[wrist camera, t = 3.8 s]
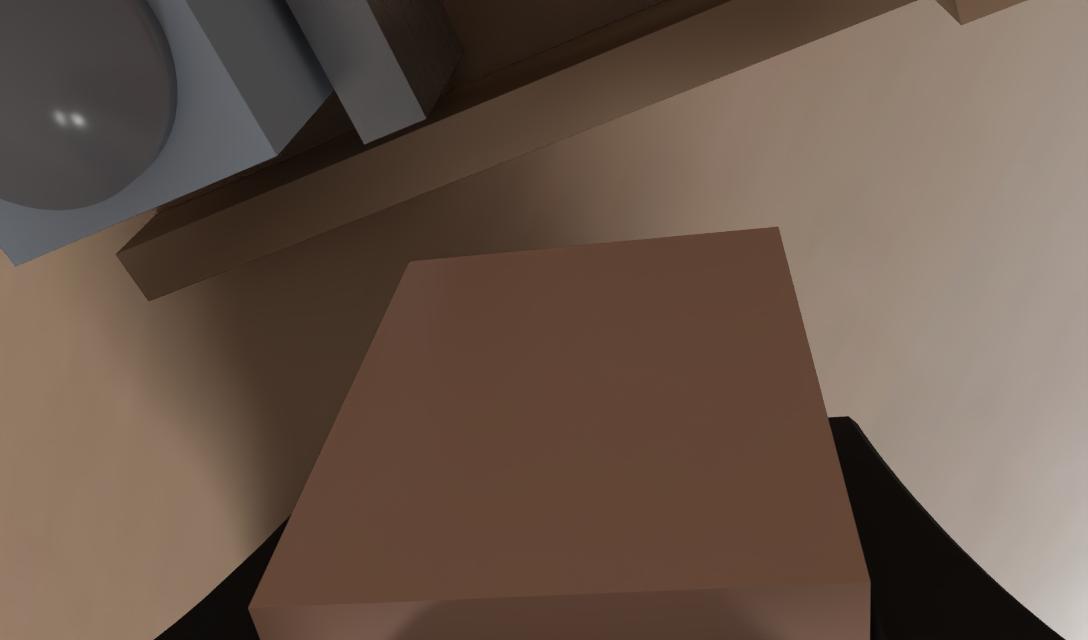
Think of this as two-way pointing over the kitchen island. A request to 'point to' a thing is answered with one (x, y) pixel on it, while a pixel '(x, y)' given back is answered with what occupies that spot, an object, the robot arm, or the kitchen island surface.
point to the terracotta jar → (579, 459)
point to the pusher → (382, 57)
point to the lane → (488, 127)
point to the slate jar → (139, 107)
